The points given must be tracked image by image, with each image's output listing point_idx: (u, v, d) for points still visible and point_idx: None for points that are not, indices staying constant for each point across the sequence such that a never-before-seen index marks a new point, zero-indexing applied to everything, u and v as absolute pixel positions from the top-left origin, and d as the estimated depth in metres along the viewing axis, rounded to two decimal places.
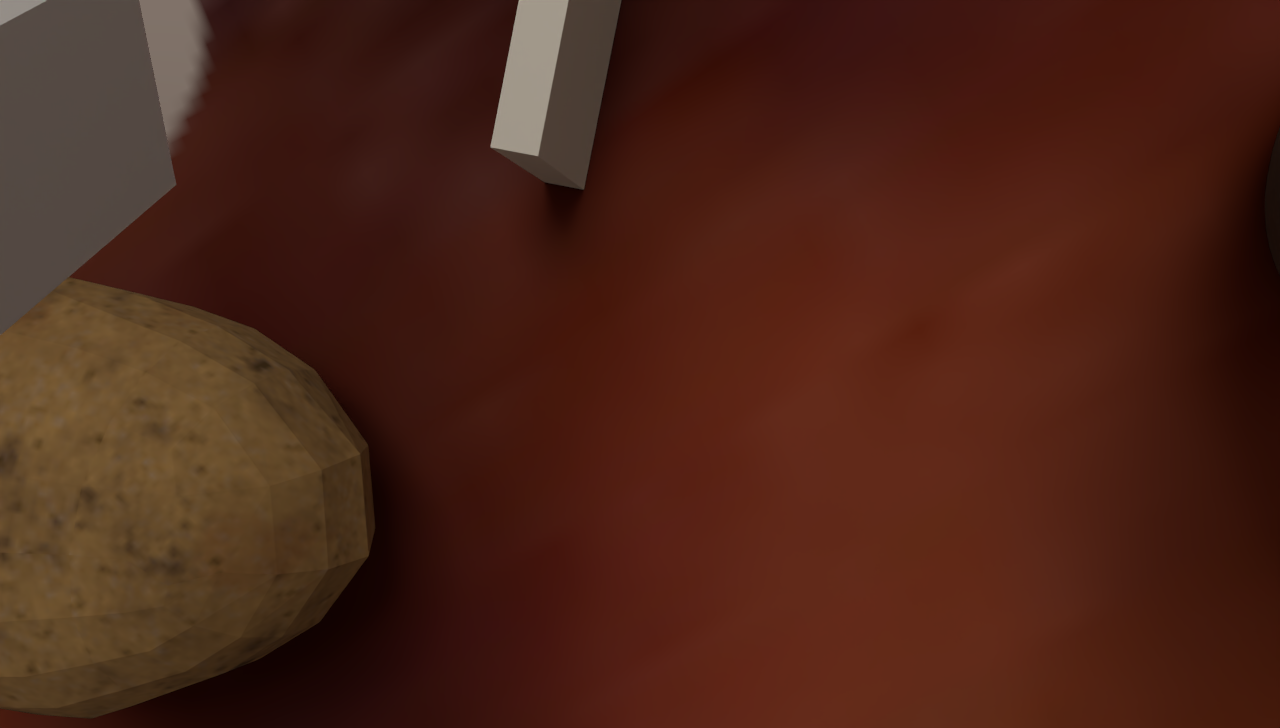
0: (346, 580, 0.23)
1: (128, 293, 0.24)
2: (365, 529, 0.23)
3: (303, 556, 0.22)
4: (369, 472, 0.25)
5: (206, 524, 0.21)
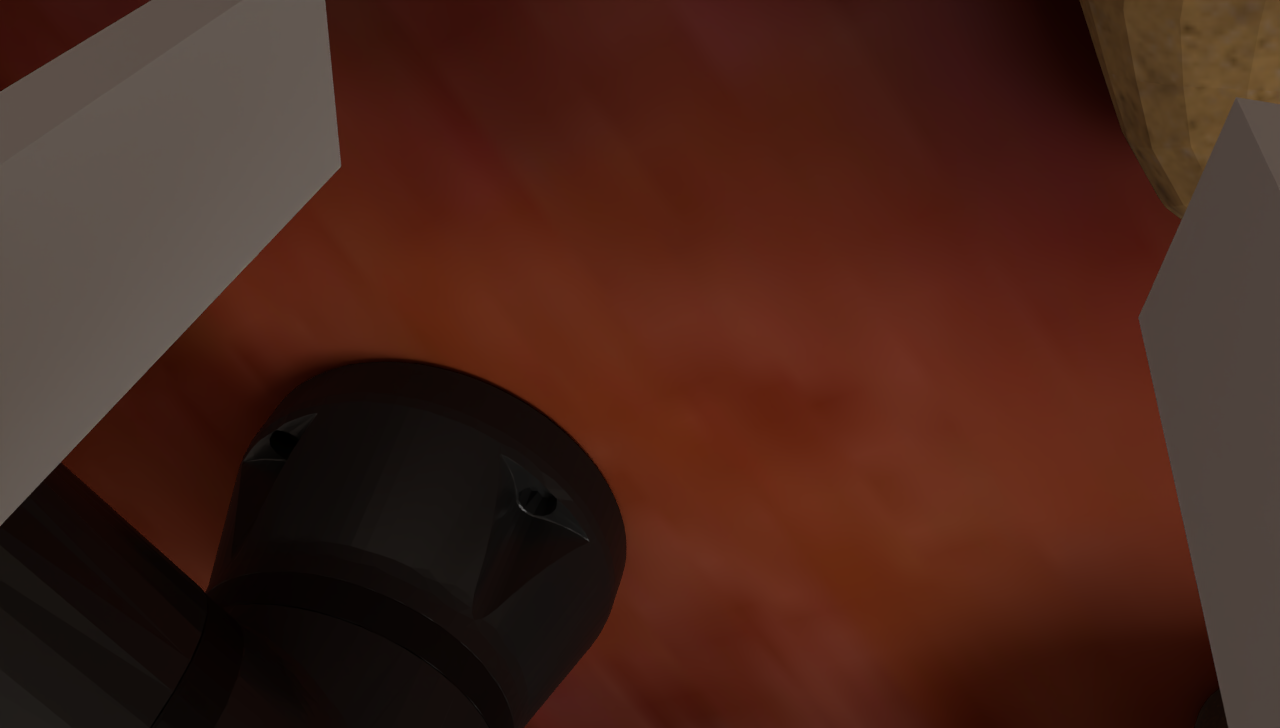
0: None
1: None
2: None
3: None
4: None
5: None
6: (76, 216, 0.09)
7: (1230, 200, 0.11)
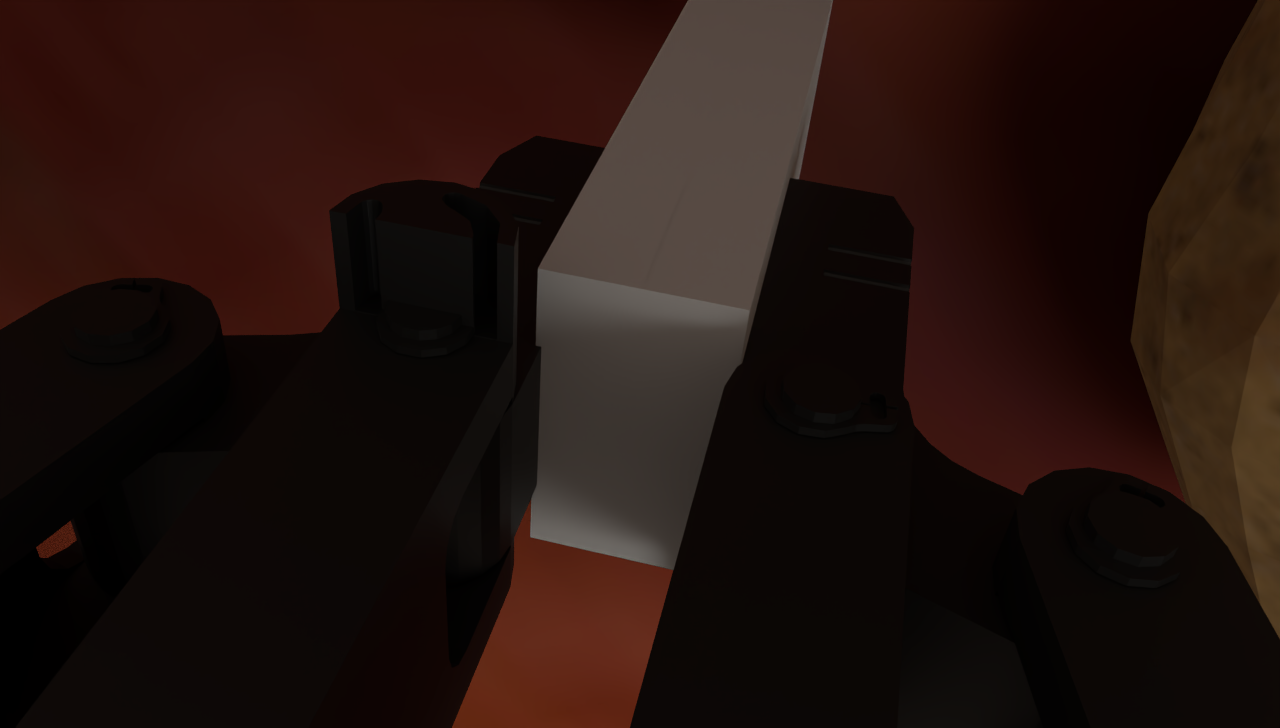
0: None
1: None
2: None
3: None
4: None
5: None
6: None
7: None
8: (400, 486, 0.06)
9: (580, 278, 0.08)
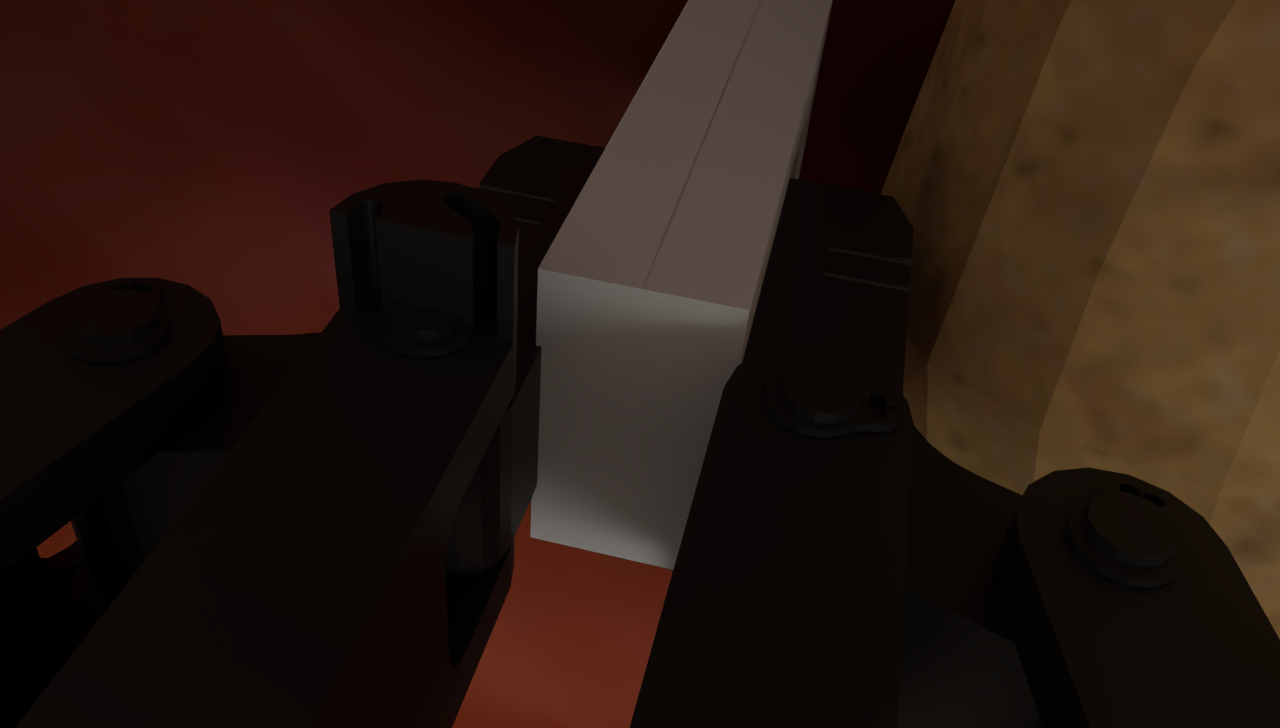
0: None
1: None
2: None
3: None
4: None
5: None
6: None
7: None
8: (400, 486, 0.06)
9: (580, 278, 0.08)
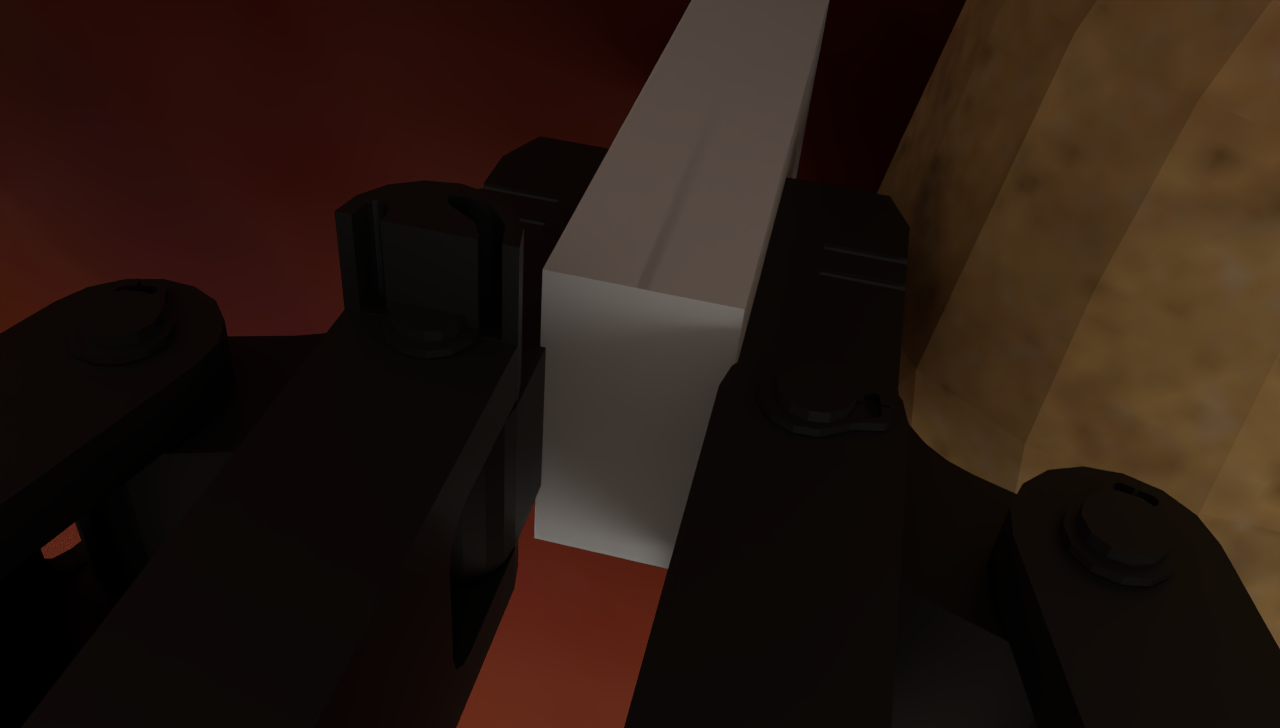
0: None
1: None
2: None
3: None
4: None
5: None
6: None
7: None
8: (405, 488, 0.06)
9: (585, 279, 0.08)
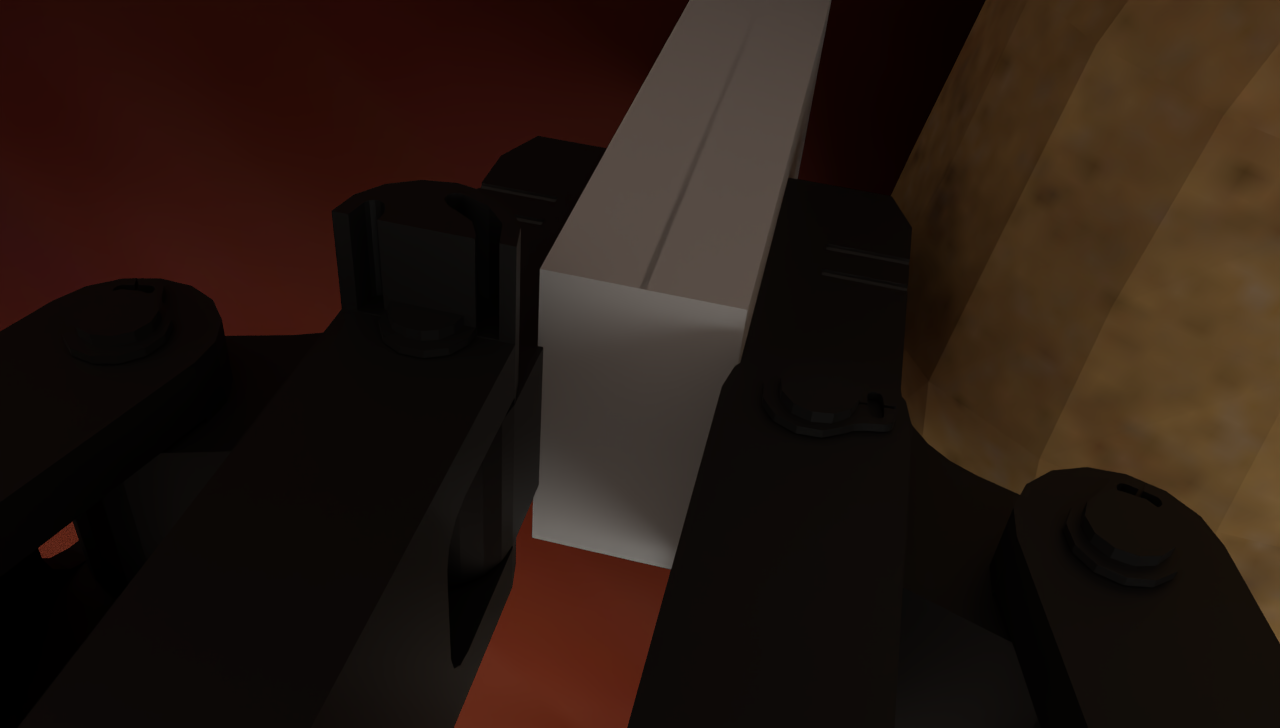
0: None
1: None
2: None
3: None
4: None
5: None
6: None
7: None
8: (401, 487, 0.06)
9: (582, 278, 0.08)
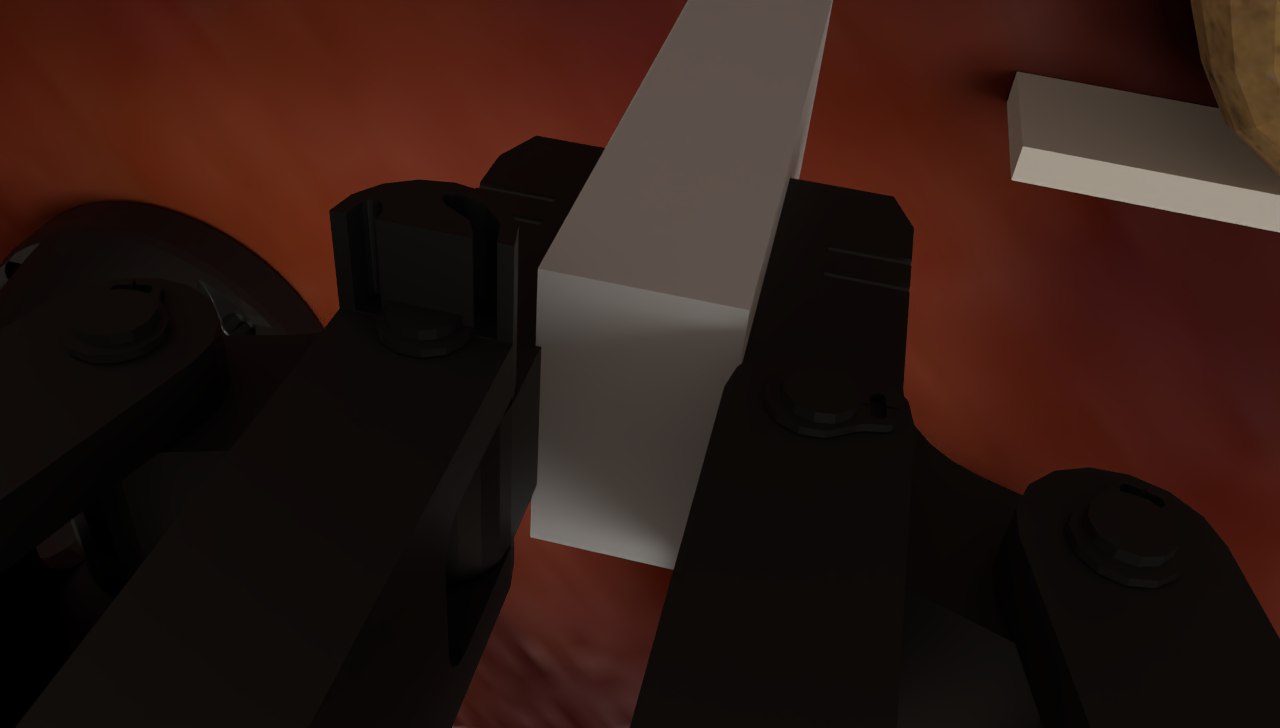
0: (1261, 158, 0.28)
1: None
2: None
3: None
4: None
5: None
6: None
7: None
8: (399, 486, 0.06)
9: (580, 278, 0.08)
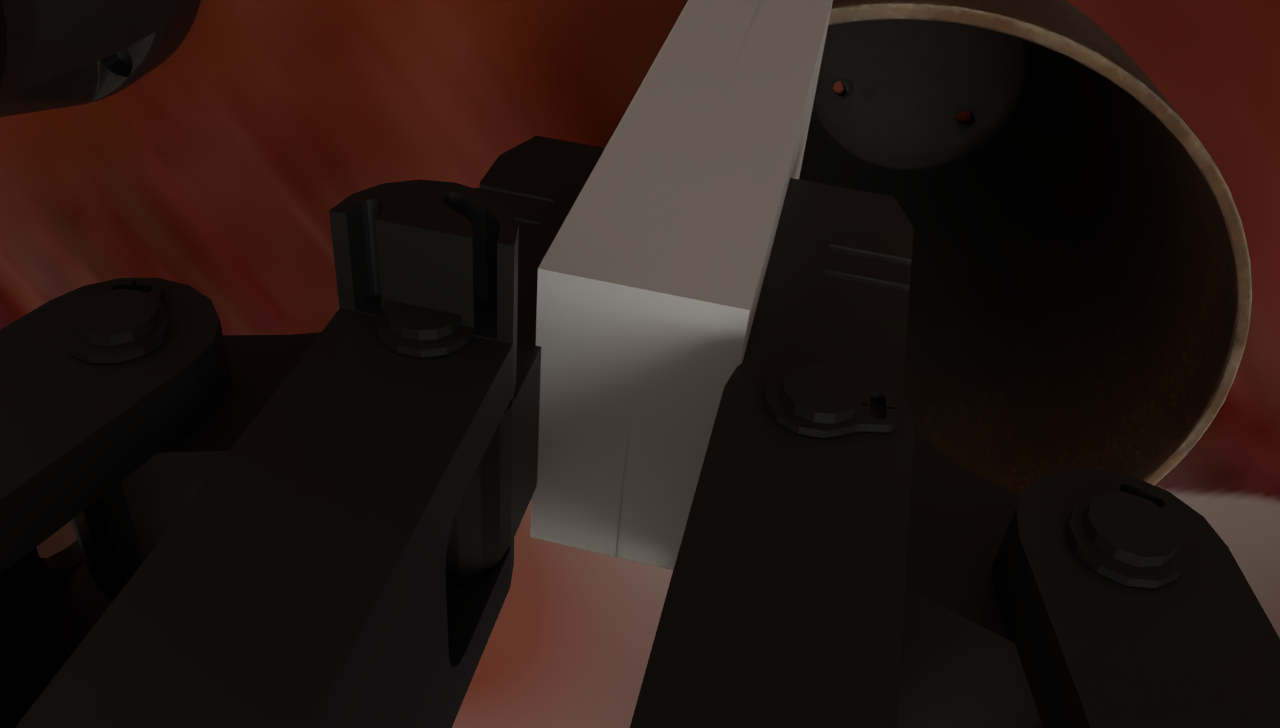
0: None
1: None
2: None
3: None
4: None
5: None
6: None
7: None
8: (400, 486, 0.06)
9: (580, 278, 0.08)
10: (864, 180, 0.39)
